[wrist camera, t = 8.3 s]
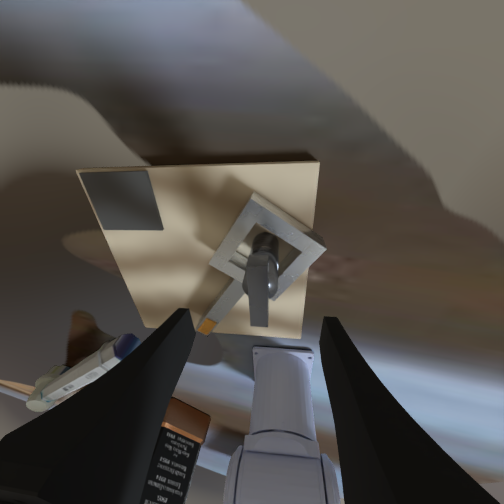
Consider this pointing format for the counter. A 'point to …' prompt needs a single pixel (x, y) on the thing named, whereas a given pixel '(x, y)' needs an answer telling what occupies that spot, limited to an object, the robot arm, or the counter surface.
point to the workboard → (197, 234)
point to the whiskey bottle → (175, 454)
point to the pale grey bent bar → (79, 372)
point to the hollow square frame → (234, 263)
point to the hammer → (261, 277)
